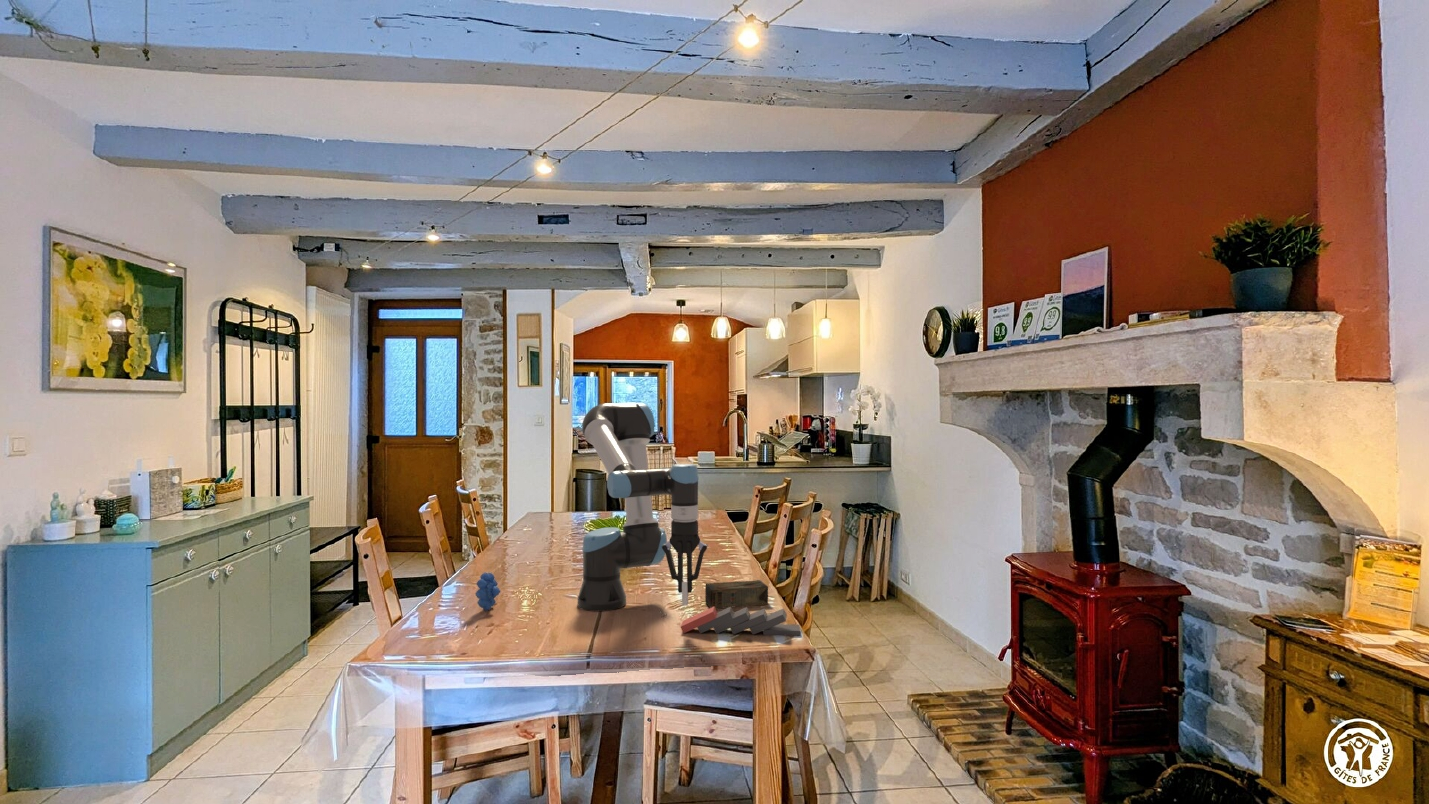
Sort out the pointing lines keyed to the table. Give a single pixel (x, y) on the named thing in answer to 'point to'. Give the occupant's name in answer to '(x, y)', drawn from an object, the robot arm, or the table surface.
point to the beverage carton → (736, 594)
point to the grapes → (487, 591)
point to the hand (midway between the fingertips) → (685, 604)
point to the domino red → (699, 619)
